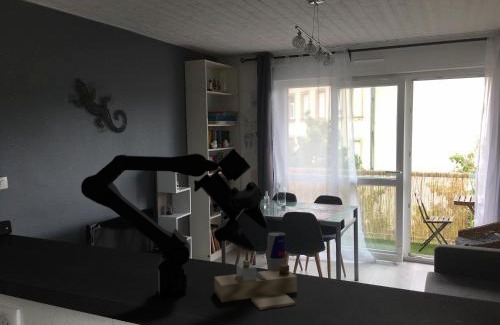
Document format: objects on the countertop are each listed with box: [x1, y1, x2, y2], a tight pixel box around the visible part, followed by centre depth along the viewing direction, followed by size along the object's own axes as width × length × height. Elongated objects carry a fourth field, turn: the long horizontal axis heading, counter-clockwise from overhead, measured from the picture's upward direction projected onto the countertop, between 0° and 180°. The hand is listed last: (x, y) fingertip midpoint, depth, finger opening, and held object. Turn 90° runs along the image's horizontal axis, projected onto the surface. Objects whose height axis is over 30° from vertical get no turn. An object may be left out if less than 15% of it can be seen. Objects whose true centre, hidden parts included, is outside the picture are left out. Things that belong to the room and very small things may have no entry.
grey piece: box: [236, 260, 258, 282], centre depth 104 cm, size 4×6×4 cm, turn 19°
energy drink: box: [266, 231, 287, 271], centre depth 119 cm, size 5×5×12 cm
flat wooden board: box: [250, 293, 296, 311], centre depth 99 cm, size 9×6×1 cm, turn 109°
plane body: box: [214, 263, 298, 303], centre depth 105 cm, size 20×7×6 cm, turn 109°
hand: (259, 237), depth 108 cm, fingers open, 9 cm apart
